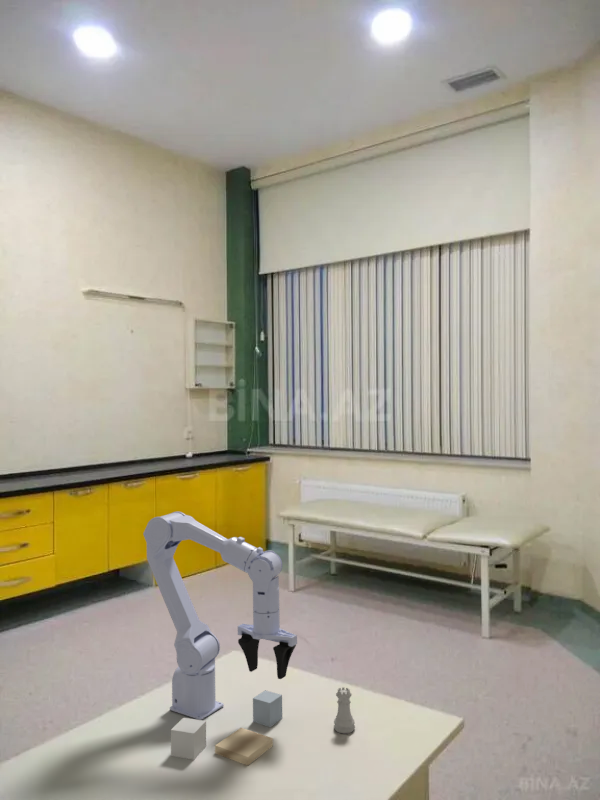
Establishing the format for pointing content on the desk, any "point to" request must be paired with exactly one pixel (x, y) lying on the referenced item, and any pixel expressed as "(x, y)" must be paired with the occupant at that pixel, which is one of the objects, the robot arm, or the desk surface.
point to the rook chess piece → (344, 712)
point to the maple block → (244, 746)
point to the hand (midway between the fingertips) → (267, 673)
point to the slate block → (267, 708)
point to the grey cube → (188, 738)
